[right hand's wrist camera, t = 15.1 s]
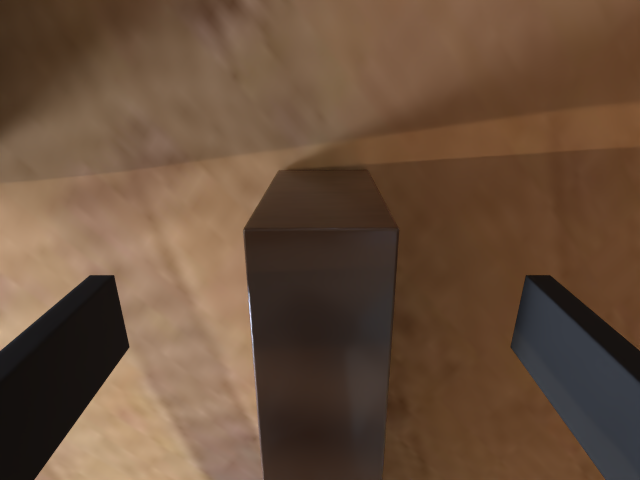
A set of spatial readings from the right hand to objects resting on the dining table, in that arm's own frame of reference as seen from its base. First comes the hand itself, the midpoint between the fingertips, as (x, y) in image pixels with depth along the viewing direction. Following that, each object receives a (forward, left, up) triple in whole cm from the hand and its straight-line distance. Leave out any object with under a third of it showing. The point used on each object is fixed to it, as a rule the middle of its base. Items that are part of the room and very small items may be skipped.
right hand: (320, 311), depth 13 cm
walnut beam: (0, -11, -8) cm, 14 cm away
